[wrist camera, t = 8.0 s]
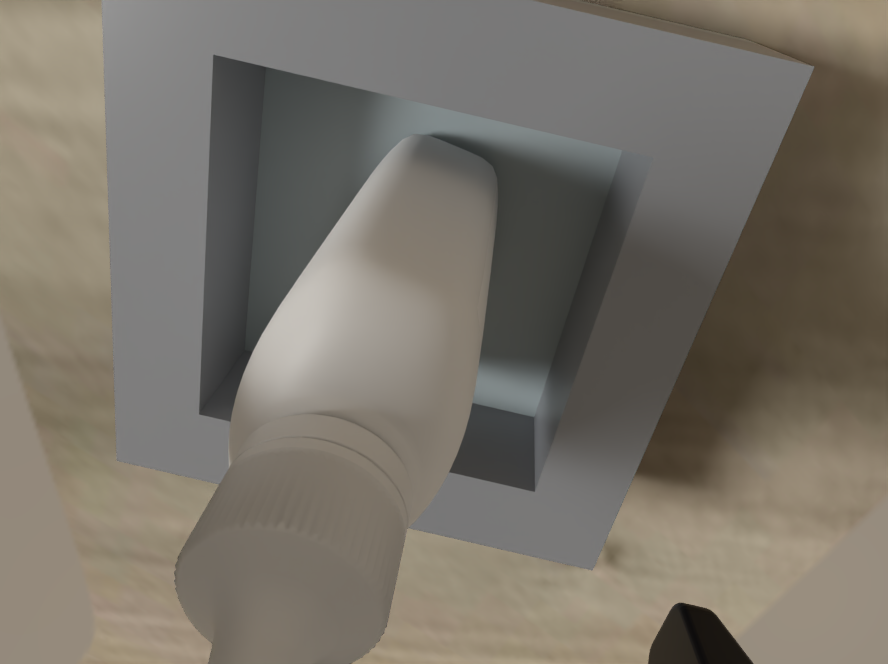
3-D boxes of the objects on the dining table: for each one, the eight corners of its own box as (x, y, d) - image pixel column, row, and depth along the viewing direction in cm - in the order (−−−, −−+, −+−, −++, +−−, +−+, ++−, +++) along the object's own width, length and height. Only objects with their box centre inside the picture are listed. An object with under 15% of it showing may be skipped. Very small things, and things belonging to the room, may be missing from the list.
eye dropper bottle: (564, 249, 17) (624, 759, 6) (389, 369, 19) (211, 902, 8) (446, 99, 15) (266, 424, 5) (272, 247, 17) (-117, 697, 7)
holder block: (581, 466, 21) (592, 570, 17) (186, 375, 21) (116, 460, 17) (747, 39, 15) (814, 66, 12) (198, -90, 15) (98, -102, 11)
